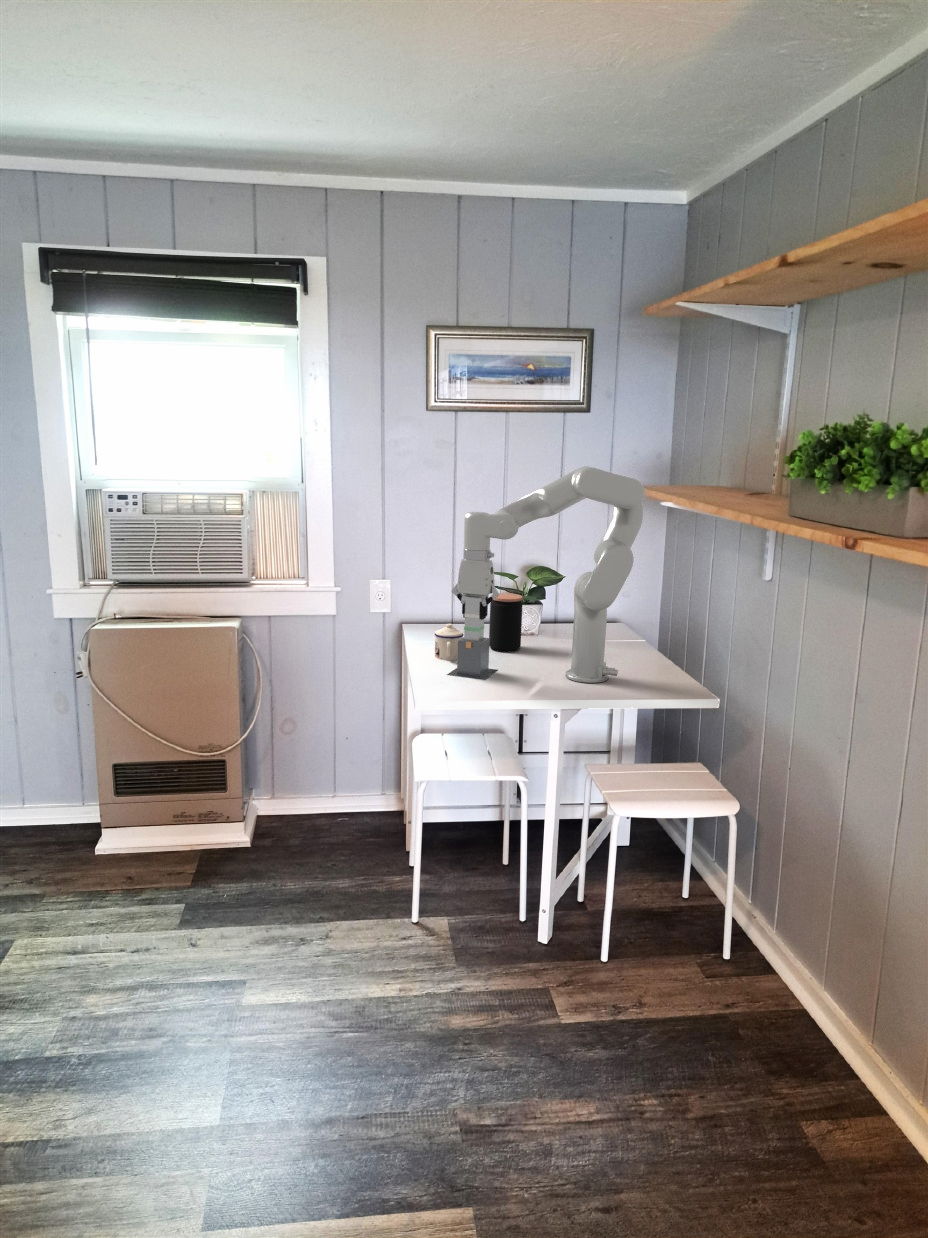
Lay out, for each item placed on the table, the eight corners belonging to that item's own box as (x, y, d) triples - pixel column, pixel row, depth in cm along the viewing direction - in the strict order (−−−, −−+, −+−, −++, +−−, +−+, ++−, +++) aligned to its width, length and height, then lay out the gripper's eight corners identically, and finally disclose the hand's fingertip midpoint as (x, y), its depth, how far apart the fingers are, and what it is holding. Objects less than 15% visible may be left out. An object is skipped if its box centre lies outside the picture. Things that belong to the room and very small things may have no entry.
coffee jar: (521, 645, 286) (523, 593, 283) (519, 653, 276) (522, 599, 272) (489, 644, 287) (491, 592, 284) (487, 651, 277) (489, 598, 273)
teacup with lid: (434, 656, 269) (435, 620, 267) (462, 657, 270) (463, 621, 267) (433, 666, 258) (434, 629, 255) (463, 667, 258) (464, 630, 255)
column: (486, 651, 248) (488, 595, 245) (479, 656, 243) (481, 598, 239) (467, 649, 250) (469, 593, 247) (460, 653, 245) (461, 596, 241)
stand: (498, 673, 252) (499, 637, 249) (485, 684, 241) (486, 646, 238) (461, 668, 256) (462, 633, 253) (446, 678, 245) (447, 641, 242)
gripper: (508, 556, 241) (506, 618, 245) (453, 551, 247) (452, 612, 251) (500, 559, 234) (497, 623, 238) (444, 554, 240) (442, 617, 244)
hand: (474, 617), depth 244 cm, fingers closed on column, 4 cm apart
